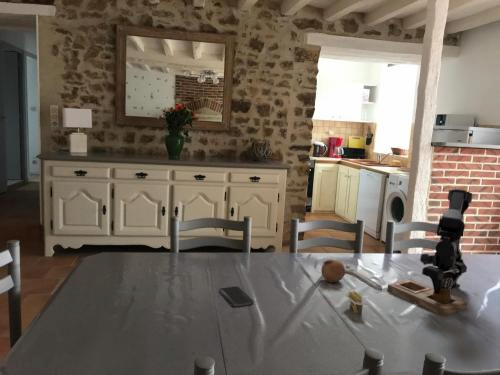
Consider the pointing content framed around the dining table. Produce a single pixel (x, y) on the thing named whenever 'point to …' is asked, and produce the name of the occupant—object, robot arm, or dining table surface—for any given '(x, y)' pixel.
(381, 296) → the dining table surface
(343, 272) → the onion
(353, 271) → the adjustable wrench
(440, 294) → the utensil holder
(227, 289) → the phone
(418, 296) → the double window frame
